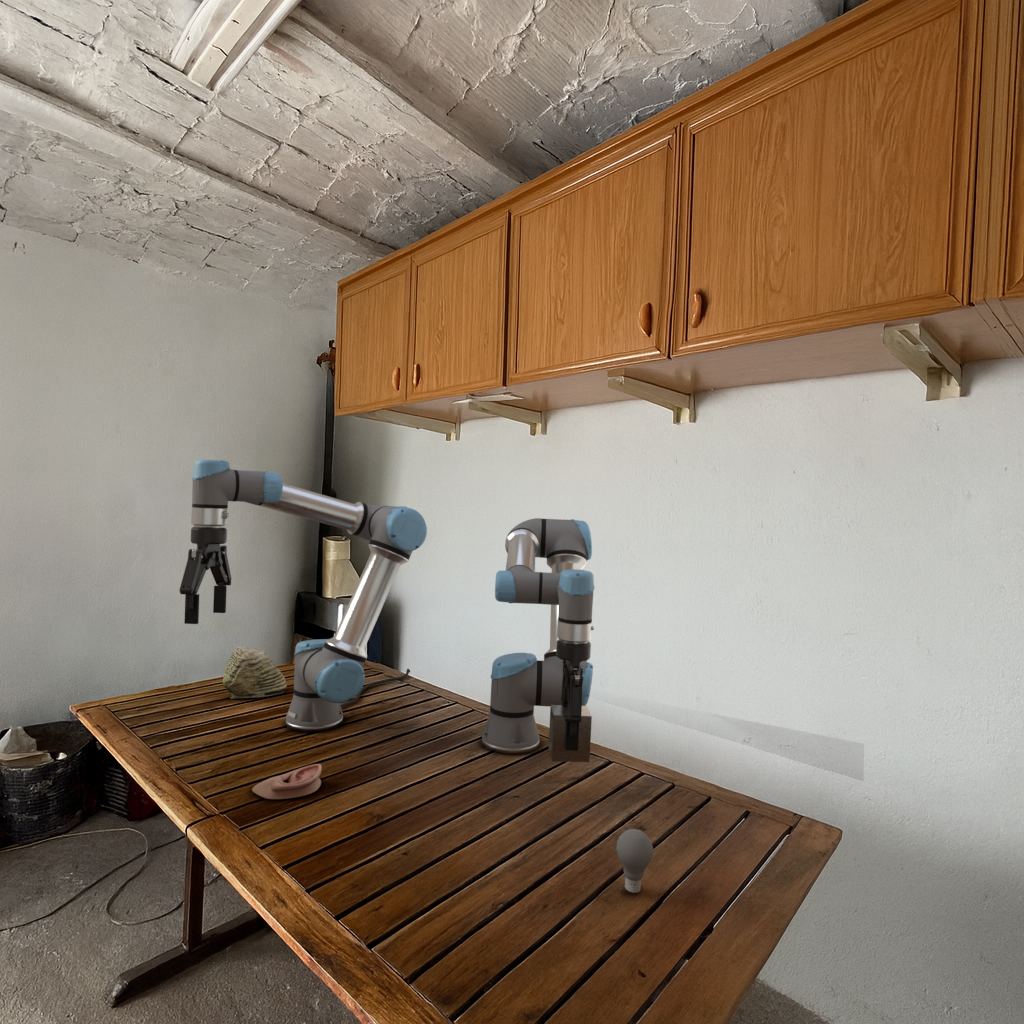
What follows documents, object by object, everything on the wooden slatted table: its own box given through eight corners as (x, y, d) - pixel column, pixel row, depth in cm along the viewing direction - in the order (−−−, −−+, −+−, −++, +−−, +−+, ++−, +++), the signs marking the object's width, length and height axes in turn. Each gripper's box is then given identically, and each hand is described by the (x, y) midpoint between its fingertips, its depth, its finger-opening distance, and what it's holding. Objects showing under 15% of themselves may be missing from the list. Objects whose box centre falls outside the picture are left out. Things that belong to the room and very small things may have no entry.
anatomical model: (244, 776, 132) (275, 755, 144) (243, 795, 132) (274, 772, 144) (301, 785, 130) (329, 762, 141) (301, 804, 130) (328, 780, 141)
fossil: (218, 695, 195) (220, 647, 195) (278, 685, 208) (279, 640, 207) (228, 703, 189) (230, 653, 188) (289, 692, 201) (290, 645, 201)
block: (551, 761, 137) (553, 715, 137) (548, 749, 144) (550, 704, 143) (589, 762, 138) (591, 716, 137) (584, 750, 144) (586, 705, 144)
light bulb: (610, 879, 108) (613, 822, 108) (644, 879, 109) (647, 822, 109) (619, 902, 102) (622, 840, 102) (655, 901, 103) (658, 840, 103)
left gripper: (199, 529, 134) (195, 629, 134) (247, 525, 159) (244, 609, 159) (163, 528, 134) (160, 628, 134) (217, 523, 159) (214, 608, 159)
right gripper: (599, 652, 130) (593, 762, 131) (583, 630, 150) (579, 727, 150) (562, 651, 130) (557, 761, 131) (552, 629, 149) (547, 726, 150)
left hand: (206, 618), depth 147 cm, fingers open, 13 cm apart
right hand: (569, 743), depth 141 cm, fingers closed on block, 6 cm apart
